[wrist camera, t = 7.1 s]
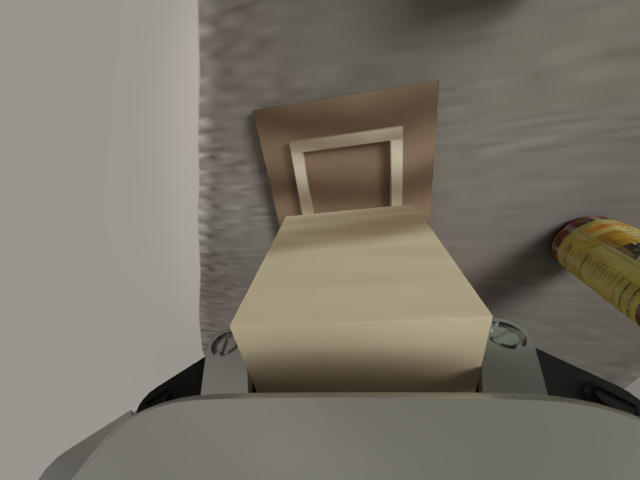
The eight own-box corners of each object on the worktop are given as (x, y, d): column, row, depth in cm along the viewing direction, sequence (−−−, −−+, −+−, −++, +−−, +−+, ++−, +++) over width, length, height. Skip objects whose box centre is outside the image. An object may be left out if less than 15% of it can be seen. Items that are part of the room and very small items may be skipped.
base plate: (257, 110, 24) (249, 110, 22) (433, 81, 22) (442, 79, 20) (289, 253, 32) (285, 264, 29) (424, 242, 29) (430, 254, 27)
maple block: (286, 216, 12) (229, 326, 6) (413, 204, 12) (492, 316, 5) (306, 309, 15) (280, 449, 9) (410, 304, 14) (460, 455, 8)
